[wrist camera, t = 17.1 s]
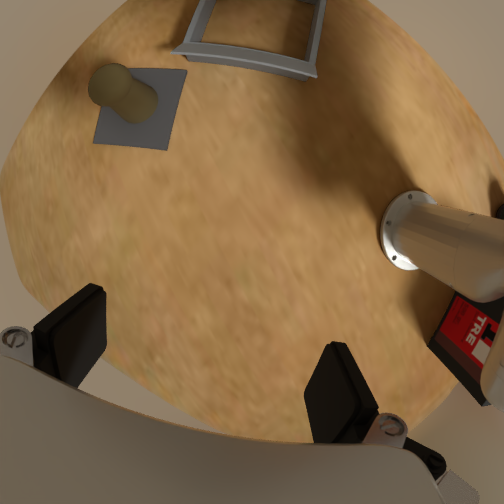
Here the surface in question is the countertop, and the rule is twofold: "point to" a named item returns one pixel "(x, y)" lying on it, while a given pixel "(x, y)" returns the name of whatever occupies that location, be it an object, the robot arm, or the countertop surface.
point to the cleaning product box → (467, 340)
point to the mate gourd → (500, 213)
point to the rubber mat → (156, 126)
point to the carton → (251, 56)
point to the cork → (122, 93)
